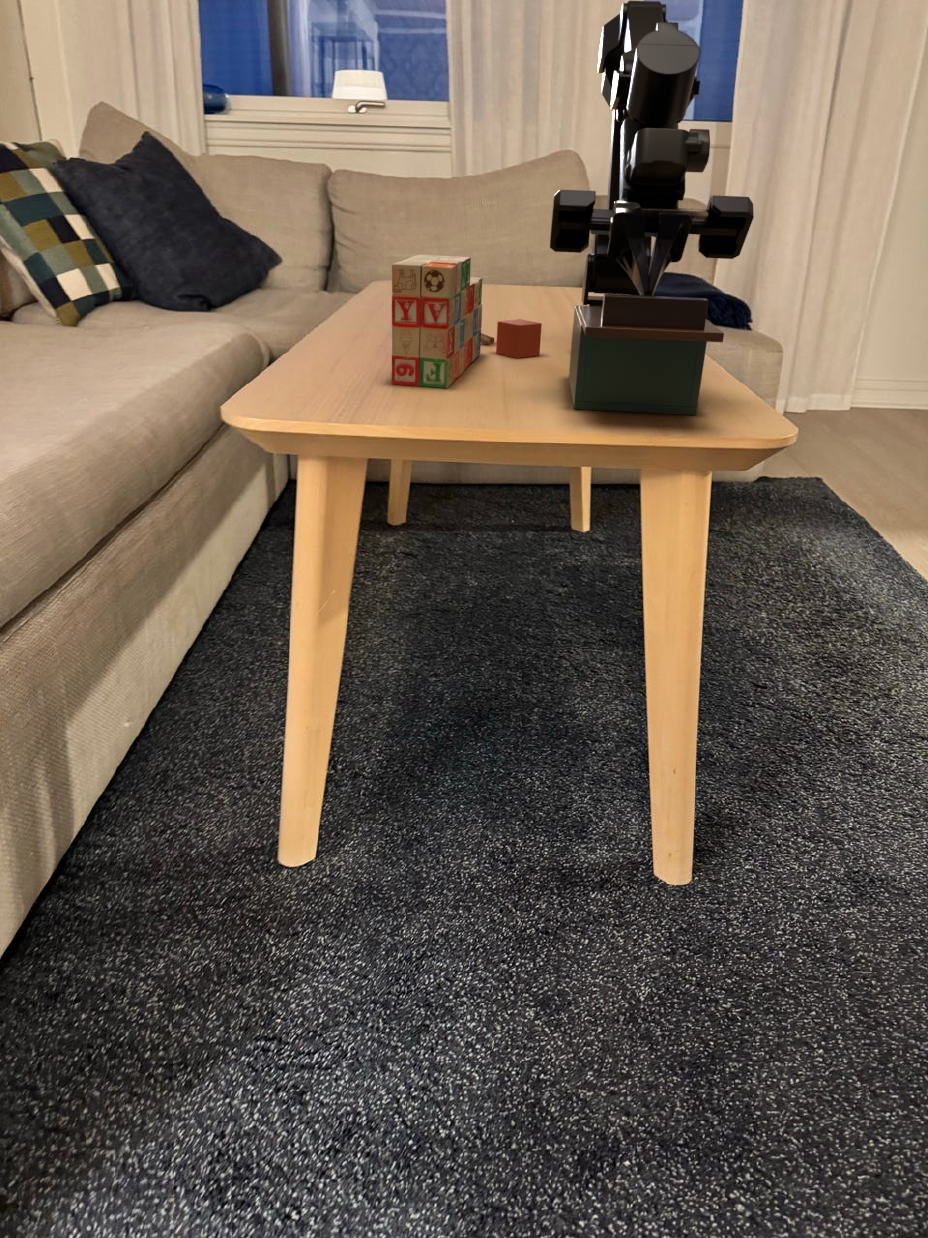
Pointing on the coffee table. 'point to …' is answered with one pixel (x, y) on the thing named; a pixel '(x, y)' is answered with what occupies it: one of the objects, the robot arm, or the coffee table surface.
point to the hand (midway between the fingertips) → (647, 296)
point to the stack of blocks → (434, 319)
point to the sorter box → (635, 373)
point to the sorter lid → (650, 318)
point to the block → (518, 338)
